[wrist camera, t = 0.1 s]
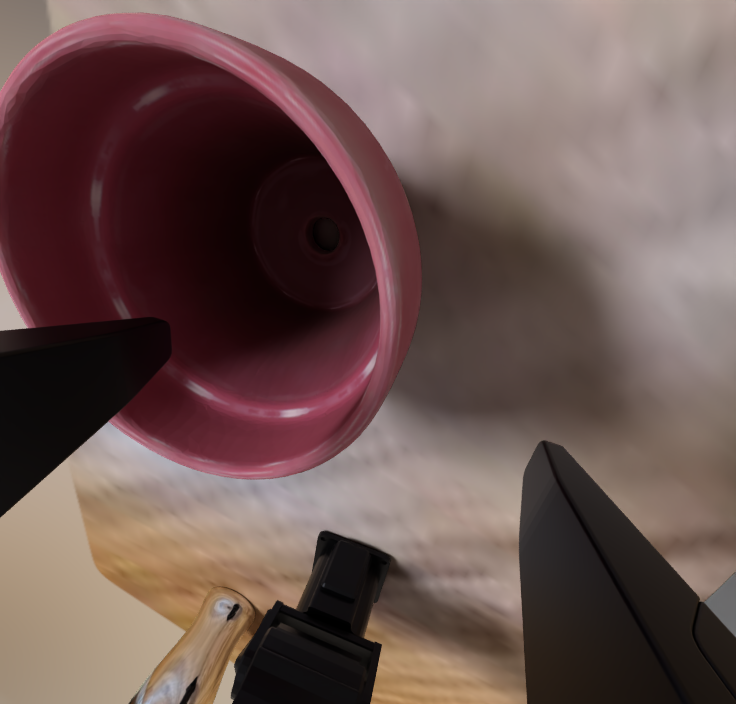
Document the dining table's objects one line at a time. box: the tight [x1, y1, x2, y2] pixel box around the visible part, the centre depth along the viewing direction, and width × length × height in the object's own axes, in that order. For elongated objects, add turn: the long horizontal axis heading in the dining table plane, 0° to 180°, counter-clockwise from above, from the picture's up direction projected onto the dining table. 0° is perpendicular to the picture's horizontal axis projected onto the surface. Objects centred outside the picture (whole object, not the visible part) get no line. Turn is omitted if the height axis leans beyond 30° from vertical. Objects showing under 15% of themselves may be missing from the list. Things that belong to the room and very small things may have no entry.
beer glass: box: [129, 587, 255, 704], centre depth 38 cm, size 7×7×15 cm
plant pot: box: [0, 13, 422, 479], centre depth 17 cm, size 14×14×13 cm
